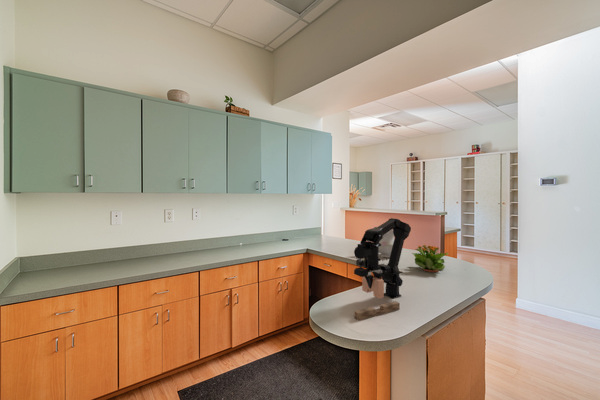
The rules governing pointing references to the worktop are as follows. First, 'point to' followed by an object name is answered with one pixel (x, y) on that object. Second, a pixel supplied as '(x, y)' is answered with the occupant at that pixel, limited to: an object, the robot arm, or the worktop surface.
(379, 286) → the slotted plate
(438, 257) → the potted flower
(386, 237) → the ceramic pitcher
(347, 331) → the worktop surface
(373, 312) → the brown rail
